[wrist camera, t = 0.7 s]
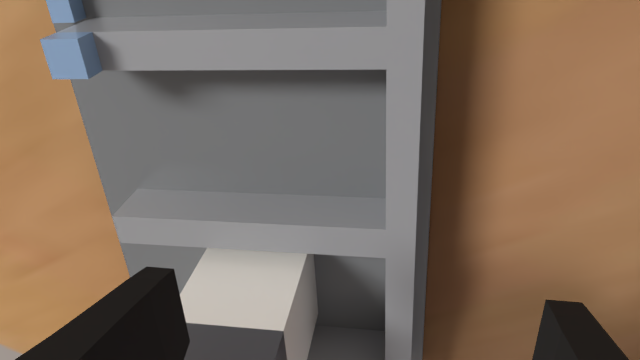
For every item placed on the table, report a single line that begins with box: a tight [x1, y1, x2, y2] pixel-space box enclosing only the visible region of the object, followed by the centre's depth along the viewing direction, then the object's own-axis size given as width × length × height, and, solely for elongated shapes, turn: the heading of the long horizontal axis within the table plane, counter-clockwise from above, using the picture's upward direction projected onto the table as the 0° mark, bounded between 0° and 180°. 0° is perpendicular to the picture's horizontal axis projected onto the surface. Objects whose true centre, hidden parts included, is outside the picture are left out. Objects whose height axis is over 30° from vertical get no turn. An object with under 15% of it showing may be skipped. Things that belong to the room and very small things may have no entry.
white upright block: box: [180, 248, 318, 360], centre depth 19 cm, size 4×4×7 cm
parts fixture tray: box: [40, 0, 441, 360], centre depth 18 cm, size 23×13×3 cm, turn 3°
